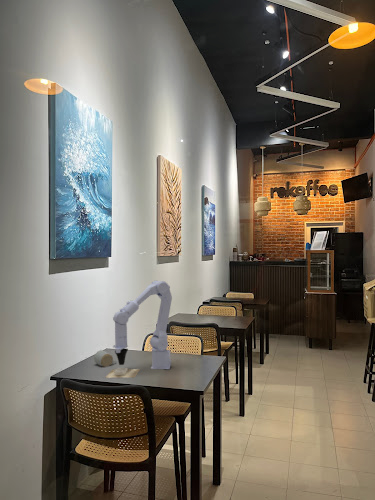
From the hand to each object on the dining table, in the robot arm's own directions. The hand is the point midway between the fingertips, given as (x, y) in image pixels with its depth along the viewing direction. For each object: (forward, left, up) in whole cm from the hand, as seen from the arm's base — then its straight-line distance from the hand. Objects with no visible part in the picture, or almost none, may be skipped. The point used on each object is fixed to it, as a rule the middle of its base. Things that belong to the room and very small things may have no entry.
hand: (121, 364), depth 196 cm
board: (-1, +1, -4) cm, 5 cm away
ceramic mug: (+12, -15, -5) cm, 20 cm away
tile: (0, -2, -3) cm, 3 cm away
